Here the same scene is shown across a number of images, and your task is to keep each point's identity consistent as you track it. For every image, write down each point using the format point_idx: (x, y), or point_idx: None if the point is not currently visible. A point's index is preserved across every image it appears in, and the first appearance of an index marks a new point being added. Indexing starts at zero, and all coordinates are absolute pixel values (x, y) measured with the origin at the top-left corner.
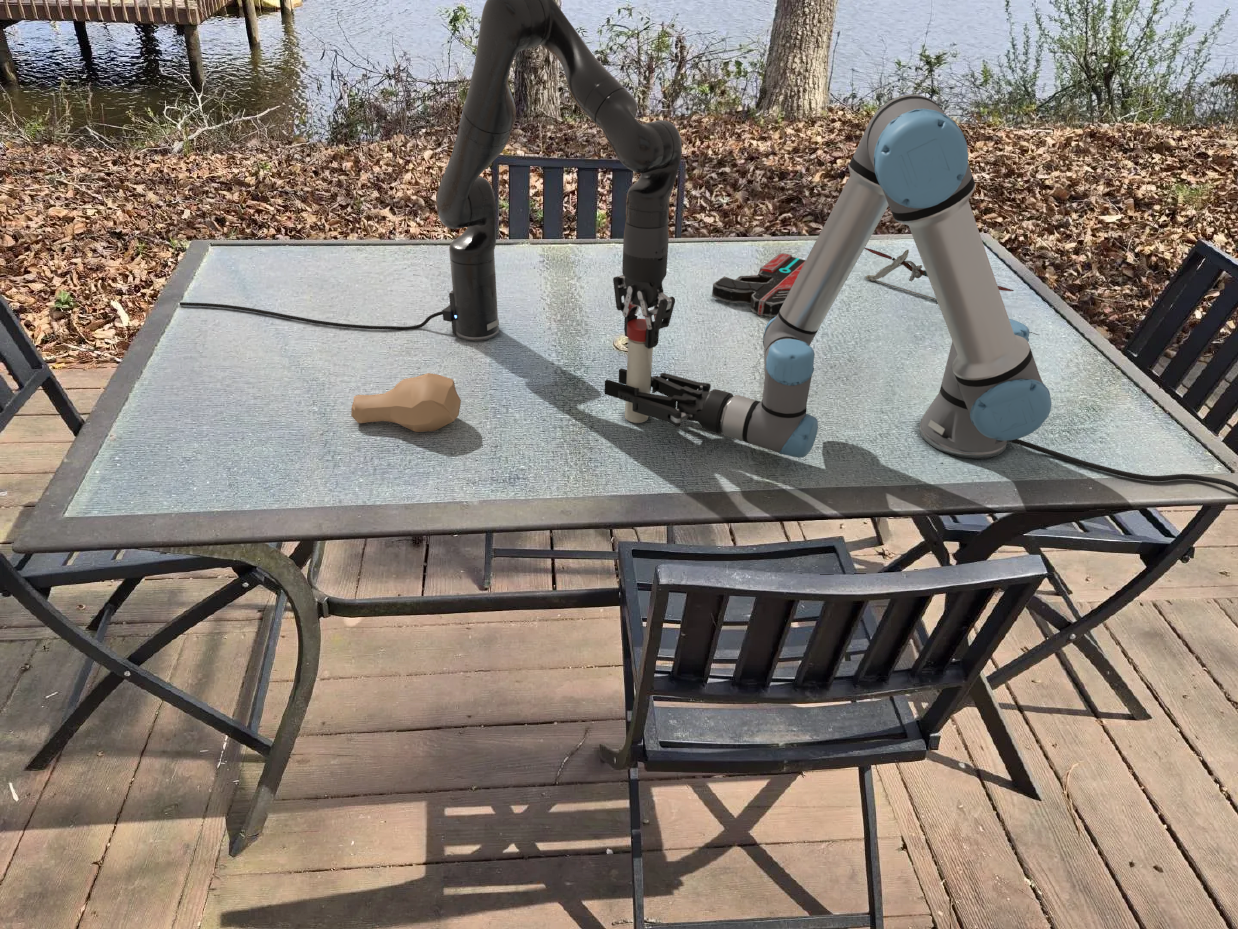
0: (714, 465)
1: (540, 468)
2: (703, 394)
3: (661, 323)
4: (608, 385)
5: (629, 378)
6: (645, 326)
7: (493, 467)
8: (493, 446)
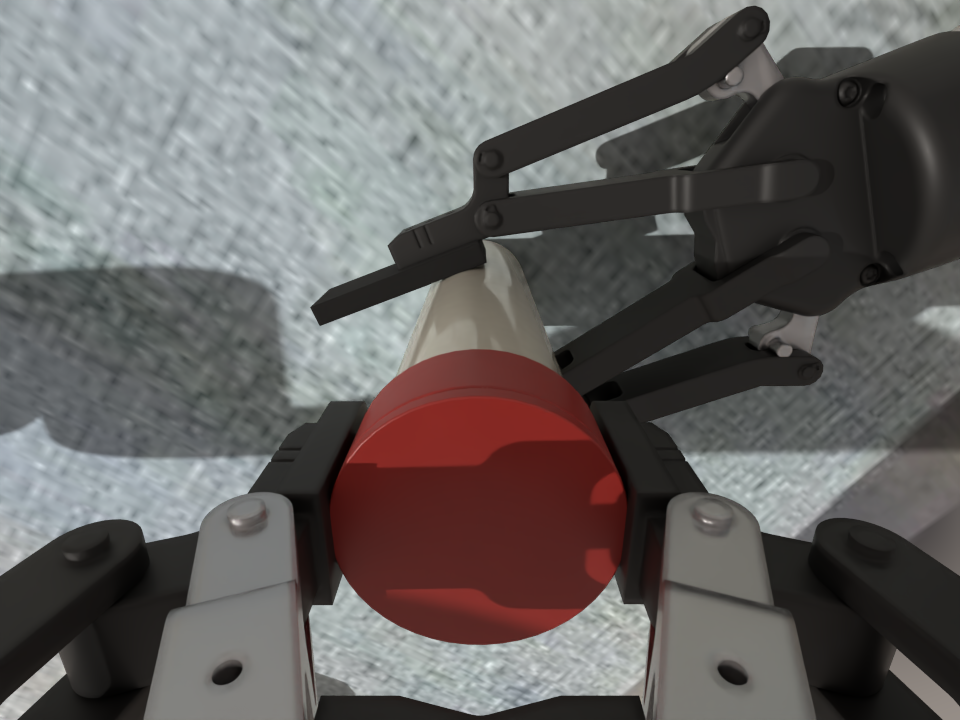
0: (891, 281)
1: (524, 642)
2: (794, 136)
3: (934, 712)
4: None
5: None
6: (543, 536)
7: (449, 706)
8: (366, 670)
